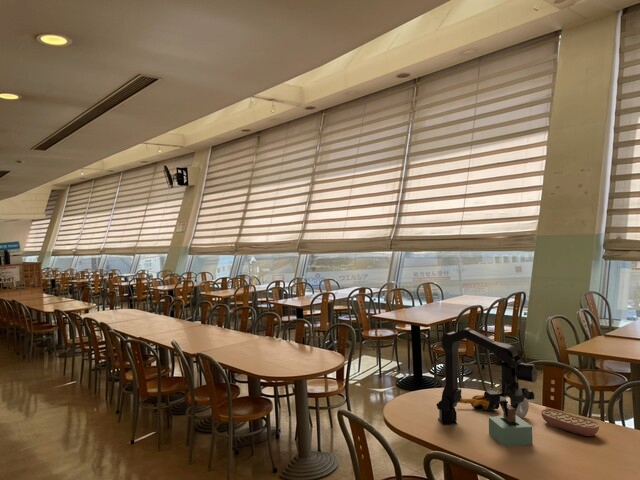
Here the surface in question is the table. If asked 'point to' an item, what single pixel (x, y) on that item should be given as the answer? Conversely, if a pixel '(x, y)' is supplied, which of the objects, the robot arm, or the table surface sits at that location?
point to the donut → (522, 409)
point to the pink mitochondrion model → (570, 422)
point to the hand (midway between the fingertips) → (509, 416)
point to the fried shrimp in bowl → (481, 403)
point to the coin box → (510, 431)
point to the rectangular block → (510, 414)
